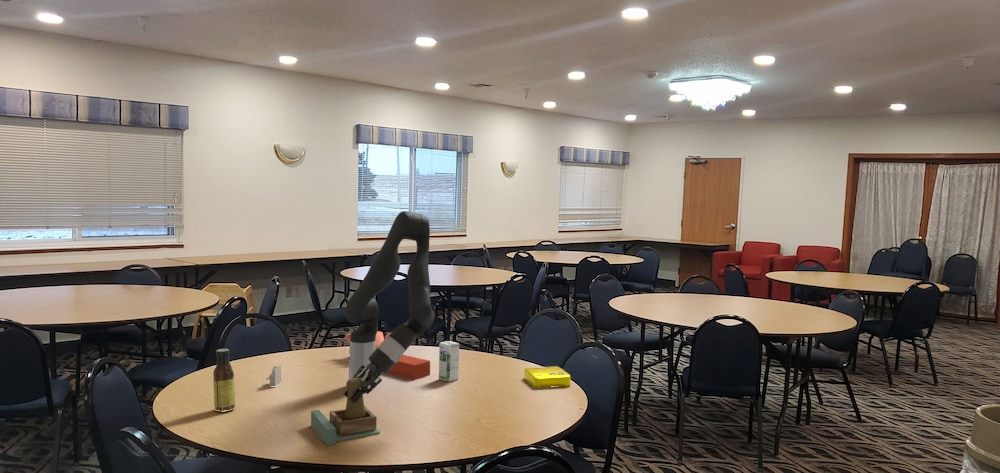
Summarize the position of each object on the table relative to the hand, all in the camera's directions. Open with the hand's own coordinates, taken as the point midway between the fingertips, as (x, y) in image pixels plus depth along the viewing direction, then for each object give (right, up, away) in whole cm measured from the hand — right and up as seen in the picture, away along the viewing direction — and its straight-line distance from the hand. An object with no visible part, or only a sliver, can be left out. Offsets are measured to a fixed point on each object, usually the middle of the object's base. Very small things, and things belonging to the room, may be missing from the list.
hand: (349, 398), depth 194 cm
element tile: (+63, -8, +56) cm, 85 cm away
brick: (+8, -7, +65) cm, 66 cm away
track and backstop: (-1, -10, 0) cm, 10 cm away
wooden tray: (+1, -10, +1) cm, 10 cm away
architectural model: (-38, -7, +45) cm, 59 cm away
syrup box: (+25, -7, +57) cm, 63 cm away
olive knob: (+2, -5, +1) cm, 6 cm away
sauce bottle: (-44, -8, +17) cm, 48 cm away
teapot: (-11, -5, +87) cm, 87 cm away
